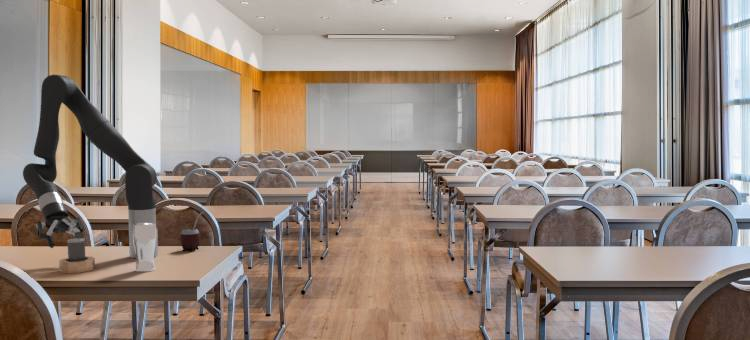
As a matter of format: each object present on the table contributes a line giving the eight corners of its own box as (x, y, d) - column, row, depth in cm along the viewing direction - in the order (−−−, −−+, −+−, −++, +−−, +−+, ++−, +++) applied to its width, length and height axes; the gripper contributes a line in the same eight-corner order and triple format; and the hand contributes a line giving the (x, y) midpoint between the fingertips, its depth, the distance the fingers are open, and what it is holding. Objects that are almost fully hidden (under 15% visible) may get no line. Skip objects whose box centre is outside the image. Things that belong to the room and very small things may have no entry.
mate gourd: (178, 250, 235) (177, 211, 235) (198, 247, 240) (197, 209, 239) (185, 252, 229) (184, 212, 229) (205, 250, 234) (204, 211, 233)
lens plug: (87, 267, 203) (86, 237, 203) (83, 270, 198) (82, 239, 198) (71, 268, 202) (70, 238, 202) (66, 271, 197) (65, 240, 197)
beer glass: (134, 273, 194) (132, 225, 193) (133, 269, 200) (132, 223, 199) (157, 271, 197) (156, 224, 196) (156, 267, 203) (154, 221, 202)
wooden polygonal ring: (97, 266, 206) (97, 255, 206) (89, 272, 196) (89, 261, 196) (65, 267, 204) (65, 257, 204) (55, 273, 194) (55, 262, 194)
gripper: (32, 202, 206) (46, 240, 198) (77, 199, 216) (91, 235, 209) (27, 217, 210) (40, 254, 202) (71, 213, 220) (85, 249, 213)
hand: (66, 244), depth 206 cm, fingers open, 8 cm apart
